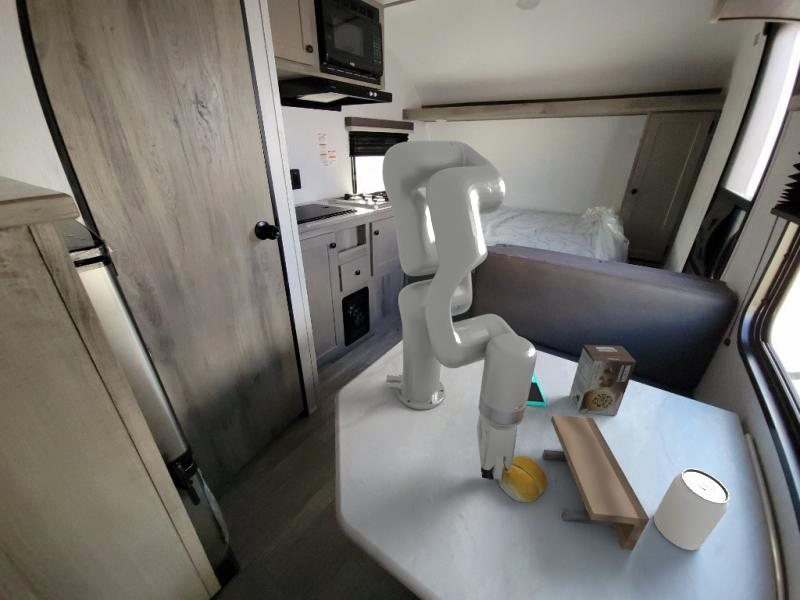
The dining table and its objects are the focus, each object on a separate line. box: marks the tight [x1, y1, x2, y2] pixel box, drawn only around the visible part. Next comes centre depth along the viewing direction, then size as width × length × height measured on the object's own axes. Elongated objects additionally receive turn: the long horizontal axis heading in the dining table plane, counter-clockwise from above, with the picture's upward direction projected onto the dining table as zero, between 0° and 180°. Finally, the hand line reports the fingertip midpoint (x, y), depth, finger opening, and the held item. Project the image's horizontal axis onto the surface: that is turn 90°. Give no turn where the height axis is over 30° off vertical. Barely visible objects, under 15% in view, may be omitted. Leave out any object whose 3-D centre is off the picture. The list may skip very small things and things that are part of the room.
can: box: [653, 467, 730, 551], centre depth 52 cm, size 6×6×12 cm
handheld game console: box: [526, 372, 548, 408], centre depth 88 cm, size 10×16×1 cm, turn 173°
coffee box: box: [569, 344, 637, 416], centre depth 77 cm, size 9×6×16 cm
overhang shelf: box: [541, 414, 650, 551], centre depth 59 cm, size 10×20×8 cm, turn 174°
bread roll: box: [497, 455, 548, 503], centre depth 62 cm, size 8×9×4 cm
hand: (489, 475), depth 62 cm, fingers closed
